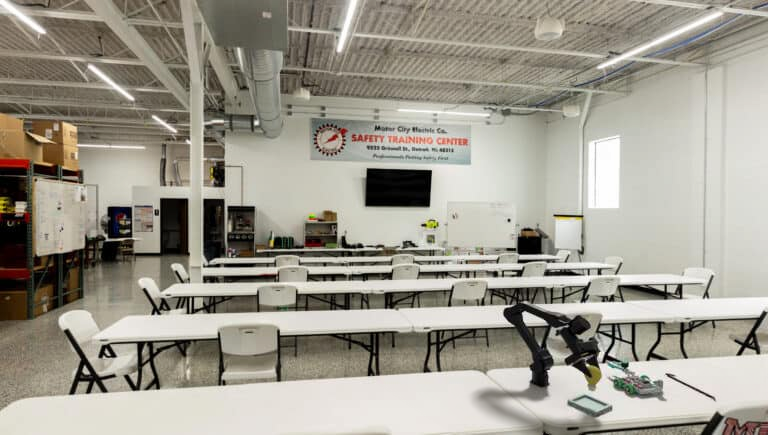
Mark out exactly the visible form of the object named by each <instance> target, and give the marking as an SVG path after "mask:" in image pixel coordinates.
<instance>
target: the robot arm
mask: <svg viewBox="0 0 768 435" xmlns="http://www.w3.org/2000/svg"><path fill="white" fill-rule="evenodd" d="M502 311H503V312H502V315H503V318H505V320H506V321H507V322H508V323H509V324H511V325H513V326H514V328H515V330H516V331H517V332H518V333H519V335H520V337H521V339H522V340H523V342H524V343H525V344H526V347H528V350H529V351H530V352H531V358H532V363H531V364H530V365H529V371H531V380H529V383H530V384H533V385H535V386H538V387H540V388H543V387H547V386H550V382H549V377H550V376H549V372H548V371H550V370H551V368H553V367H554V365H555V364H554V363H555V360H554V356H553V355H552V354H551V352H550V350H549V349H548V348H546V349H544V348H542V347H541V345H540V344H539V342H538V341H537V339H536V338H535V337H534V335H533V333H532V332H531V330H530V329H529V328H528V326H527V325H526V323H525V321H524V315H523V313H525V312H526V313H528V314H530V315H533V316H535V317H537V318H539V319H541V320H543V321H545V323H546V324H548V326H550V327H552V328H553V329H556V330H555V335H554V336H555V337H558V336H560V338H562V340H563V342H564V343H565V344H566V346H565V348H566V350H568V349H569V350H570V352H571V354H570V355H568V356H567V357H565V358H564V361H563V362H564V364H565V365H566V367H568V366H571V367H573V368H575V369H576V370H578V371H579V372H581V373H582V374H583V375H584V374H585V375H586V376H588V377H589V378H591V377H592V375H591V373H590V371H589V370H588V368H587V366H595V367H597V368H598V369H599V370H600V371H601V370H602V369H601V368H600V365H599V361H598V356H599V355H600V353H601V352H602V351H601V350H600V348H599V341H598V339H597V338H596V337H589V338H588V340H587V341H586V340H584V339H582V338H579V336H581V335H583V334H584V333H586V332H587V331H589V330H590V329H592V328H591V327H592V325H591V324H590V322H589V320H588V319H586V318H585V317H583V316H582V315H581V314H577V315H576V316H574V317H573V318H570V317H567V315H566V314H565V313H562V312H558V311H551V310H548V309H545V308H542V307H540V306H538V305H536V304H533V303H531V302H529V301H527V300H524V301H519V302H517V303H516V304H514V305H512V306H508V307H505V308H504V309H503V310H502ZM559 328H561V329H559ZM587 364H588V365H587ZM601 372H602V371H601Z"/></svg>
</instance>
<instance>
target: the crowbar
mask: <svg viewBox="0 0 768 435" xmlns="http://www.w3.org/2000/svg"><path fill="white" fill-rule="evenodd" d="M664 375H665V376H666V375H667V376H666V377H667V378H670V379H672V380H673V381H676V382H678V383H680V384H682V385H684V386H686V387H688V388H690V389H692V390H694V391H696V392H698V393H700V394H702V395H704V396H706V397H709V398H710V399H712V400H713V401H717V400H716V397H715V396H714V395H711V394H709V393H707V392H705V391H703V390H701V389H699V388H696V387H695V386H692V385H691V384H689V383H686V382H684V381H683V380H680V379H678V378H676V375H675V374H672V373H669V372H666V373H664ZM671 375H672V376H671ZM674 376H675V377H674Z"/></svg>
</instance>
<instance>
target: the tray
mask: <svg viewBox="0 0 768 435" xmlns="http://www.w3.org/2000/svg"><path fill="white" fill-rule="evenodd" d="M567 404H568V405H570V406H573V407H575V408H576V409H579V410H581V411H583V412H586V413H587V414H590V415H592V416H593V417H594V416H595V417H597V416H599V415H602V414H603V413H606V412H608V411H610V410H613V404H610V403H608V402H607V401H604V400H601V399H599V398H598V397H597V398H596V397H594V396H592V395H590V394H587V393H584V392H583V393H581V394H578V395H576V396H574V397H571V398H568V399H567Z"/></svg>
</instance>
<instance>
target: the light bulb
mask: <svg viewBox="0 0 768 435" xmlns="http://www.w3.org/2000/svg"><path fill="white" fill-rule="evenodd" d="M586 366H587V368H588V370H589V371H590V373H591V375H592V377H591V378H589V377H588V376H586V375H585V374H584V373H583V376H584V379H585V380H586V382H587V388H588V391H590V392H595V391H596V390H597V384H598V383H599V382H600V381H601V379H602V377H603V374H602V371H600V370H601V369H600V370H599V369H598V368H597V367H595V366H590V365H586Z"/></svg>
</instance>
